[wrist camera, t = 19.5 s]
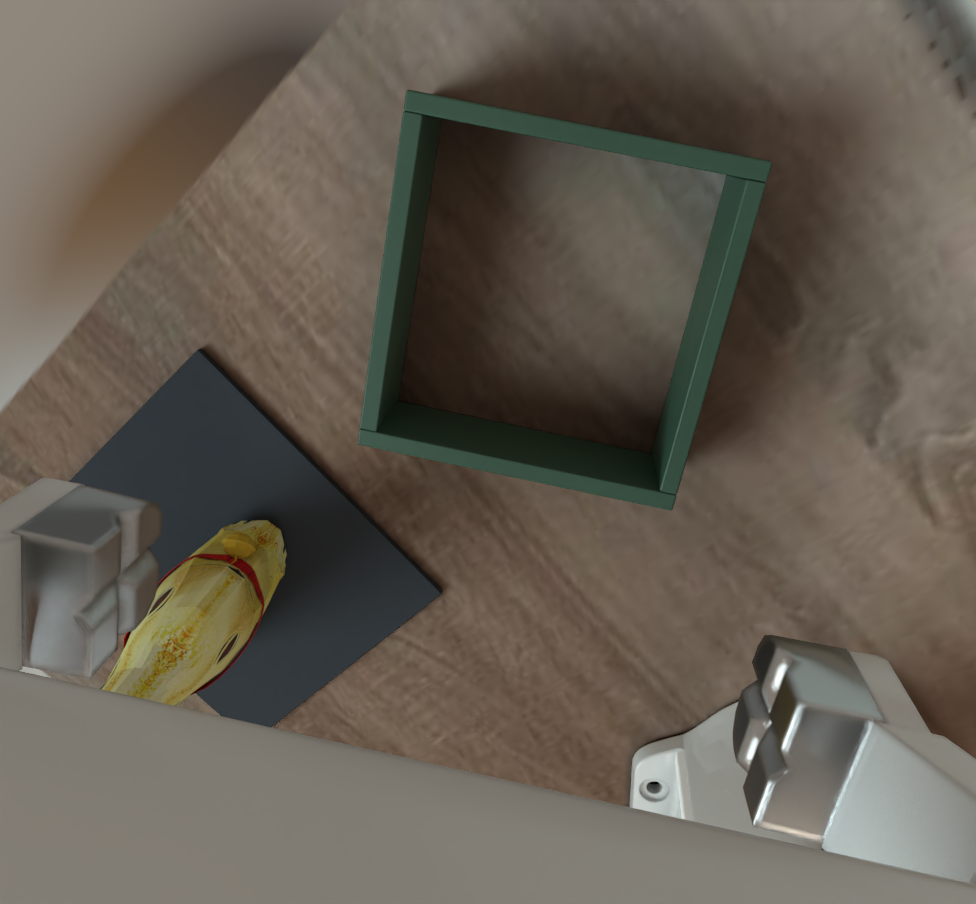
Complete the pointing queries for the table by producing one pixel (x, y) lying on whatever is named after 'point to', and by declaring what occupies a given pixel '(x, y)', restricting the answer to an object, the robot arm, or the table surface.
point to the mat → (283, 502)
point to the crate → (524, 447)
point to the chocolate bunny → (202, 615)
